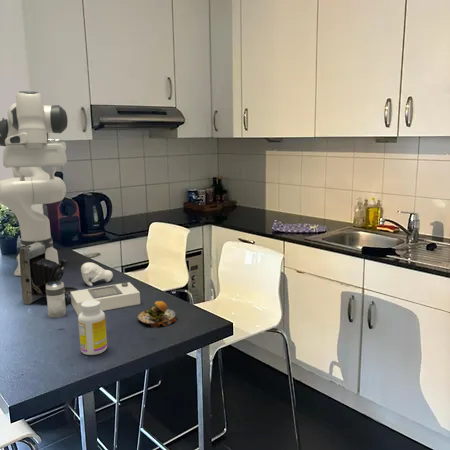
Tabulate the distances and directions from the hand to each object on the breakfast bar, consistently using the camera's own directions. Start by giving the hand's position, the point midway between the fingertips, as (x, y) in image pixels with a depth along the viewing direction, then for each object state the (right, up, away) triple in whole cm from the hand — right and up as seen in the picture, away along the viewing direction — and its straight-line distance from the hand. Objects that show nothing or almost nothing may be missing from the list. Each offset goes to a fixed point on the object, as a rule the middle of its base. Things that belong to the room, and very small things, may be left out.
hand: (37, 180), depth 155 cm
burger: (+44, -44, -18) cm, 65 cm away
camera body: (+25, -41, -5) cm, 48 cm away
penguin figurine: (+16, -38, +16) cm, 44 cm away
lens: (+12, -43, -14) cm, 47 cm away
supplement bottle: (+30, -48, -37) cm, 68 cm away
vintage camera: (+6, -41, -2) cm, 42 cm away
